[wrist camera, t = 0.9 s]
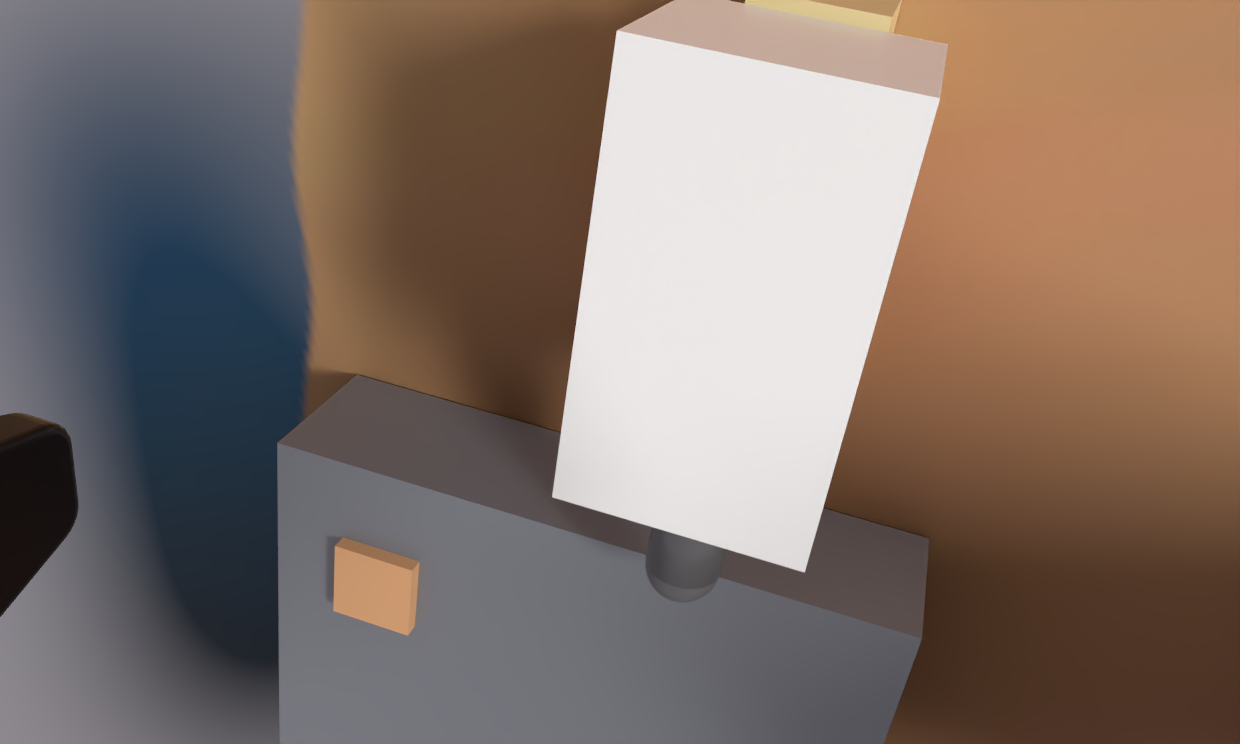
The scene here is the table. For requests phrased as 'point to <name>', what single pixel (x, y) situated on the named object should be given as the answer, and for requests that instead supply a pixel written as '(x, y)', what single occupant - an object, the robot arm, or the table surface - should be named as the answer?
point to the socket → (553, 601)
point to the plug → (738, 269)
